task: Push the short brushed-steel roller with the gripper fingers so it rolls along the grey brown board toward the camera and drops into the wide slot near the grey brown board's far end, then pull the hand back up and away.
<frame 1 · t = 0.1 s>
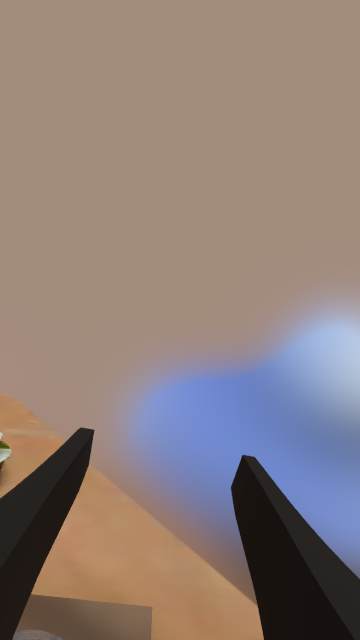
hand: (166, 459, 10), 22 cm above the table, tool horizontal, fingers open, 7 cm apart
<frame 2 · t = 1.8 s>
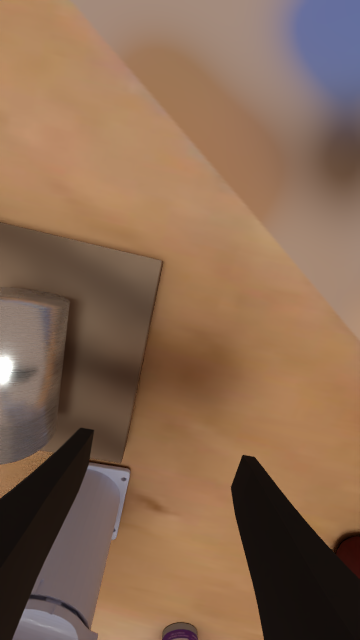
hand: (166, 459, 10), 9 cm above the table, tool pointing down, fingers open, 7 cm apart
roller: (19, 370, 14), point 4 cm above the table, tilted 9°, touching grey brown board
container: (179, 631, 29), on the table
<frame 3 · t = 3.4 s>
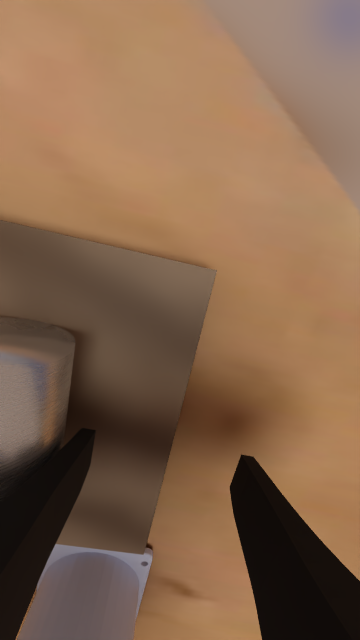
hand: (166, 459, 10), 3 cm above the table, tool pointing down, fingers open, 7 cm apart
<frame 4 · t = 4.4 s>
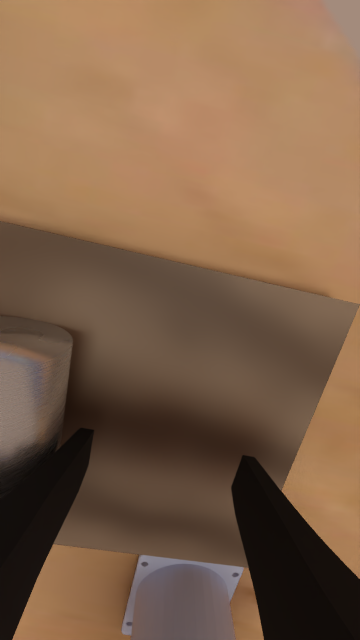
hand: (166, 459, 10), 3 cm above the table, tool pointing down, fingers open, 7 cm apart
grey brown board: (60, 393, 13), on the table
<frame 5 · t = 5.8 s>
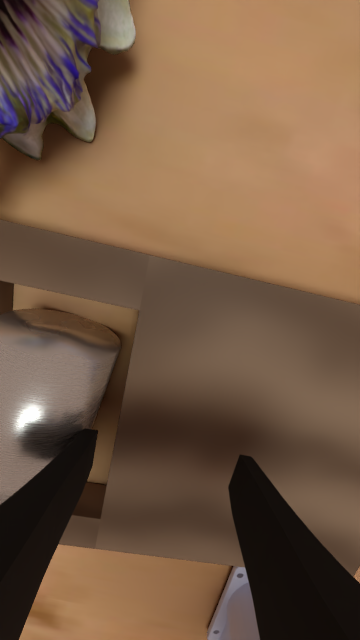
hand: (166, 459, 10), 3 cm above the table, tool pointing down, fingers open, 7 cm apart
roller: (40, 420, 11), point 2 cm above the table, touching gripper
grey brown board: (180, 414, 13), on the table
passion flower: (17, 40, 9), on the table
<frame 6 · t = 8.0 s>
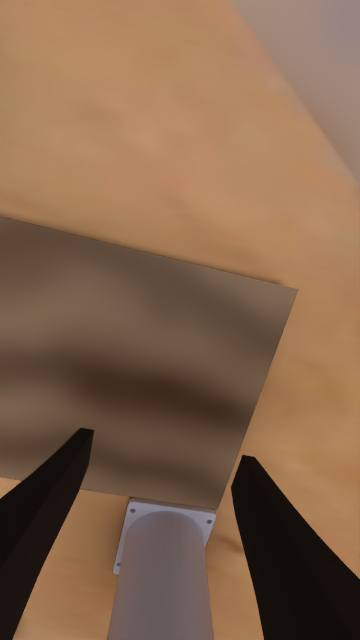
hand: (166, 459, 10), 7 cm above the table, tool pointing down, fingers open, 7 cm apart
grey brown board: (63, 362, 16), on the table
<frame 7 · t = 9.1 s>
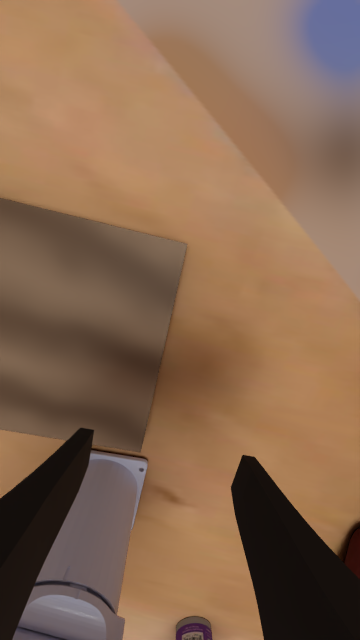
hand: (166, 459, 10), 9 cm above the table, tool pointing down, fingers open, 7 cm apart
container: (193, 625, 28), on the table
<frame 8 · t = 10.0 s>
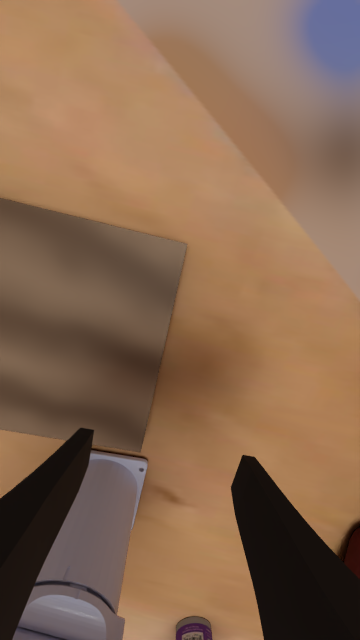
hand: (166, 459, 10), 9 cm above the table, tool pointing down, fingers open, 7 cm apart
container: (193, 625, 28), on the table
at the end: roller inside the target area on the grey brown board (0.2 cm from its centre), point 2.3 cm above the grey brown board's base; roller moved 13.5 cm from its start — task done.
